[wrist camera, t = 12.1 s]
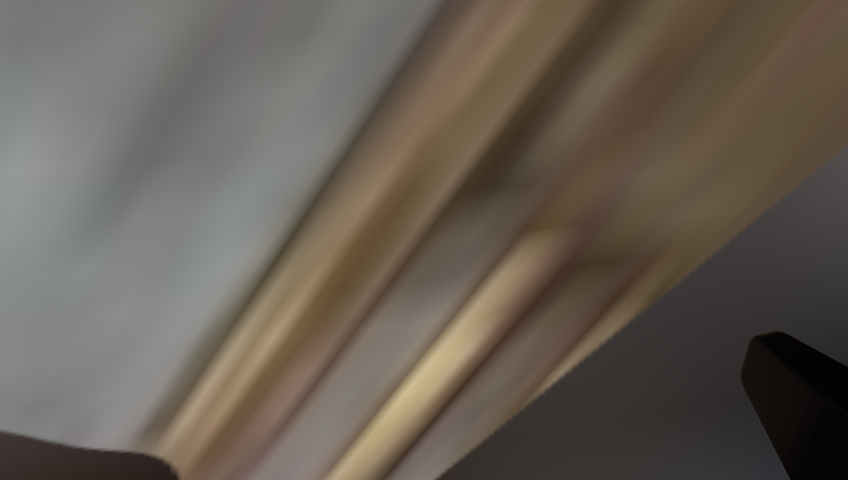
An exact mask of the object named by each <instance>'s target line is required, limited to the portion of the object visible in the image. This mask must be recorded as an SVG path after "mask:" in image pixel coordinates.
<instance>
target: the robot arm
mask: <svg viewBox="0 0 848 480" xmlns="http://www.w3.org/2000/svg"><path fill="white" fill-rule="evenodd" d="M741 382H742V385H743V388H744V390H745V392H746V394H747V396H748V398H749V400H750V402H751V404H752V406H753V408H754V410H755V412H756V414H757V416H758V418H759V420H760V422H761V424H762V426H763V428H764V430H765V432H766V434H767V436H768V438H769V440H770V442H771V444H772V445H773V448H774V450H775V452H776V453H777V456H778V458H779V460H780V461H781V463H782V465H783V467H784V469H785V471H786V473H787V475H788V476H789V478H790V480H848V366H846V365H844V364H842V363H840V362H838V361H836V360H835V359H833V358H831V357H829V356H827V355H825V354H824V353H822V352H820V351H818V350H816V349H814V348H812V347H811V346H809V345H807V344H805V343H803V342H801V341H800V340H798V339H796V338H794V337H792V336H790V335H788V334H786V333H784V332H780V331H773V332H769V333H765V334H761V335H756V336H754V337H753V338H752V339H751V340H750V342H749V345H748V348H747V351H746V355H745V358H744V362H743V365H742V368H741Z"/></svg>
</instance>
